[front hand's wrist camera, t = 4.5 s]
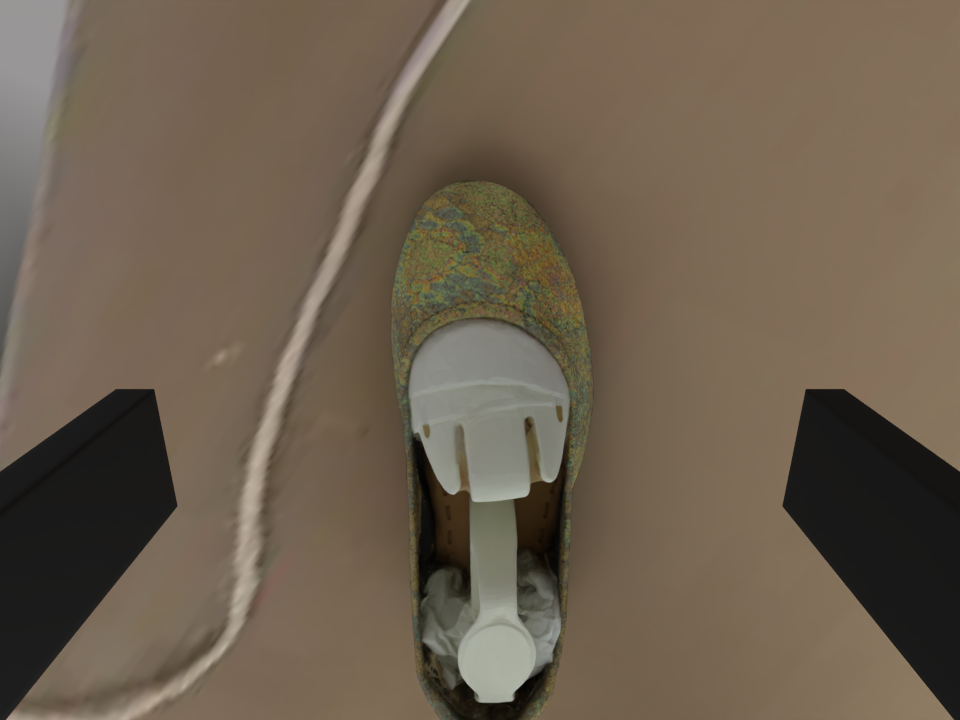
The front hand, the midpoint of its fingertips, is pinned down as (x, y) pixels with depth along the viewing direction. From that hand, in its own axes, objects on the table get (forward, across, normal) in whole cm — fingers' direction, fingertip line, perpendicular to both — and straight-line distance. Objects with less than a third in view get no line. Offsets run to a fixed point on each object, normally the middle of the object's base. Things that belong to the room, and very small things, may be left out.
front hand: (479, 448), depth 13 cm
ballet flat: (+14, +1, -8) cm, 16 cm away
